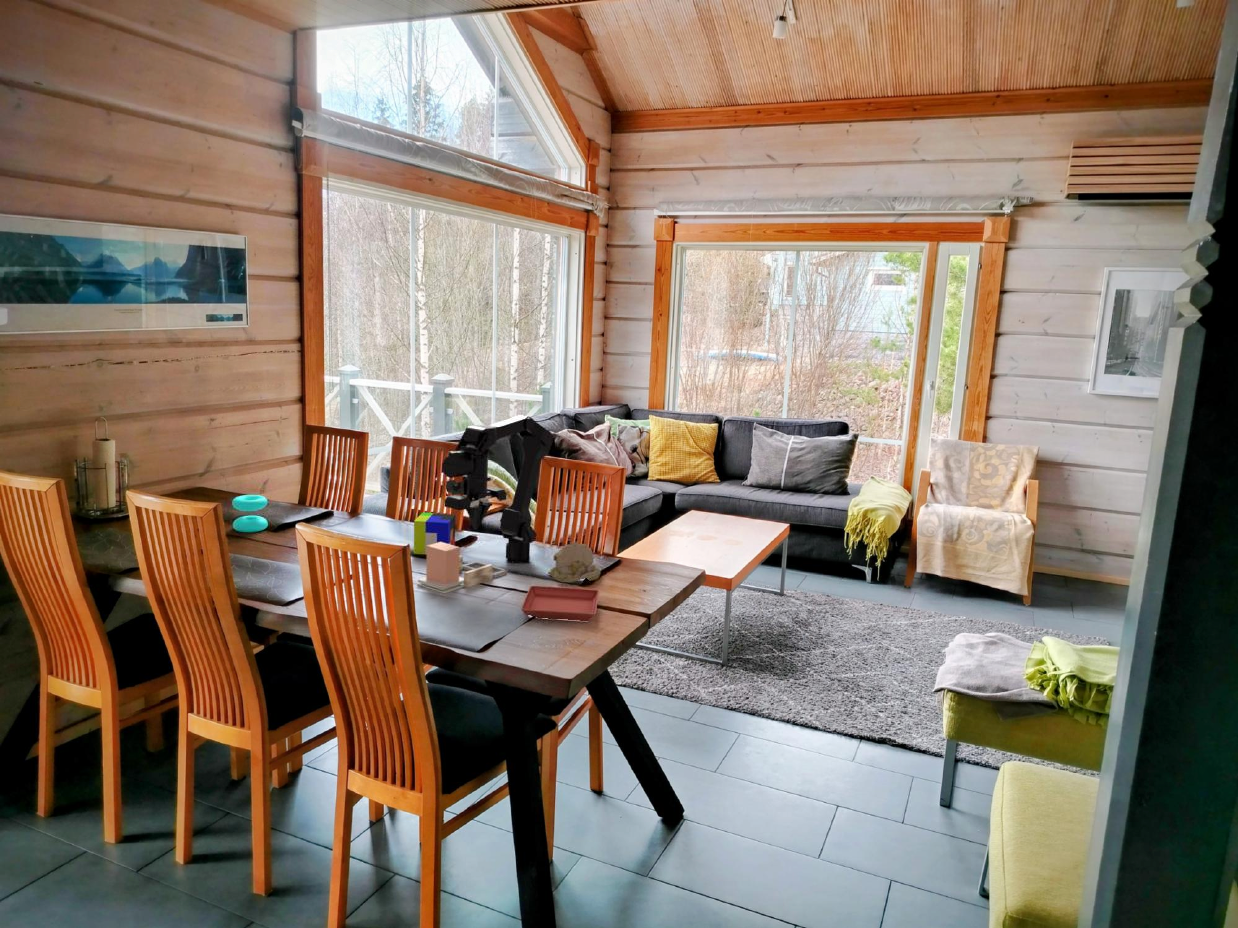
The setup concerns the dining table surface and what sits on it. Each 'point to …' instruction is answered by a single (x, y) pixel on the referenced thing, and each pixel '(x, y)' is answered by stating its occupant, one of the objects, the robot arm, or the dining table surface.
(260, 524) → the donuts
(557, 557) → the ceramic model
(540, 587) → the plant saucer
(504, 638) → the dining table surface
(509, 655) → the dining table surface
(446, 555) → the block sled
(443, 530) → the puzzle toy
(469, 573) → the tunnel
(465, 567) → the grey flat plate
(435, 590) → the pad
